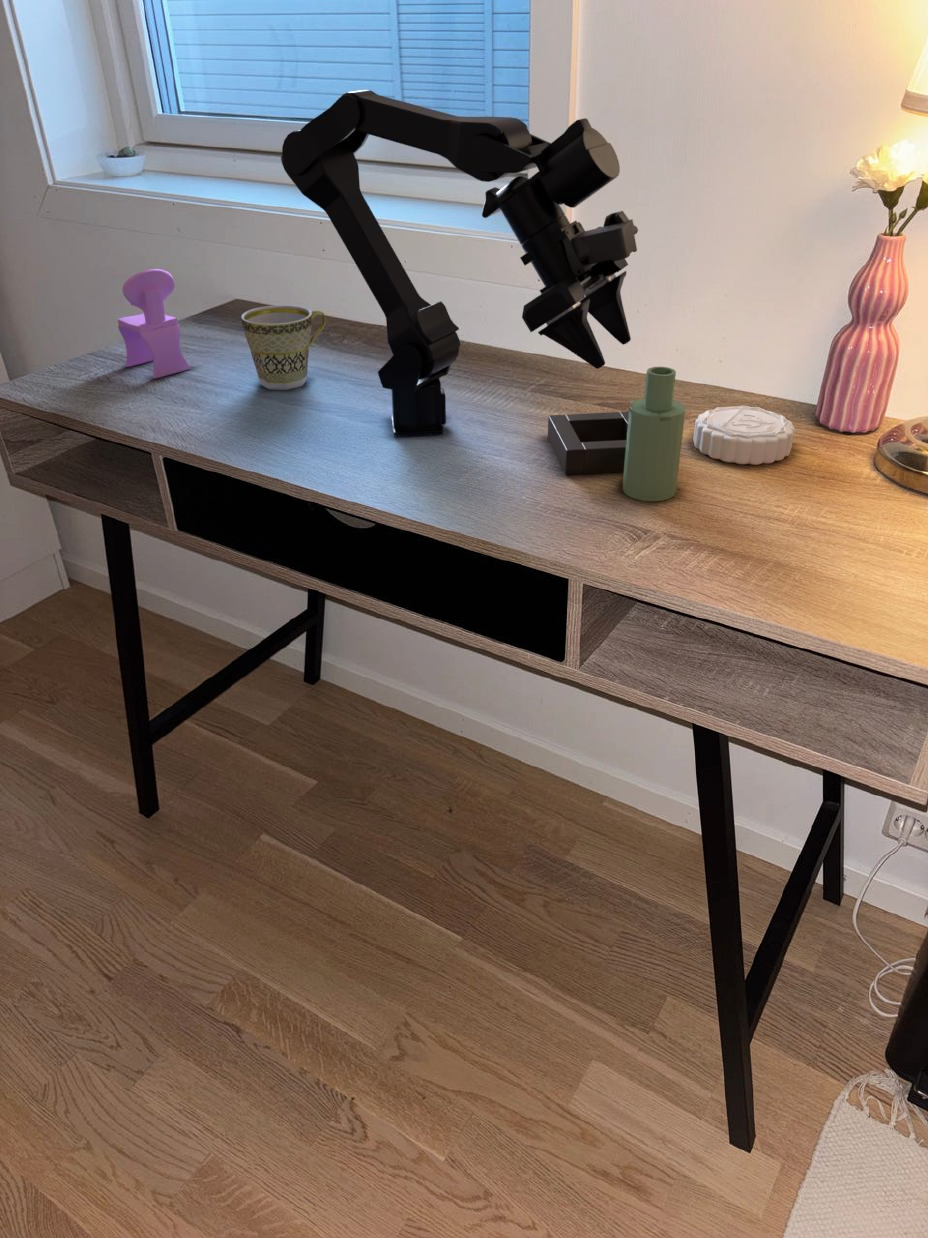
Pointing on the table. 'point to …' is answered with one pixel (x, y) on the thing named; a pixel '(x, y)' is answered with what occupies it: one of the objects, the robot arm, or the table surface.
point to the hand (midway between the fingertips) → (614, 354)
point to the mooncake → (743, 435)
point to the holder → (589, 441)
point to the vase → (654, 439)
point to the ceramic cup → (280, 343)
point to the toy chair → (152, 324)
